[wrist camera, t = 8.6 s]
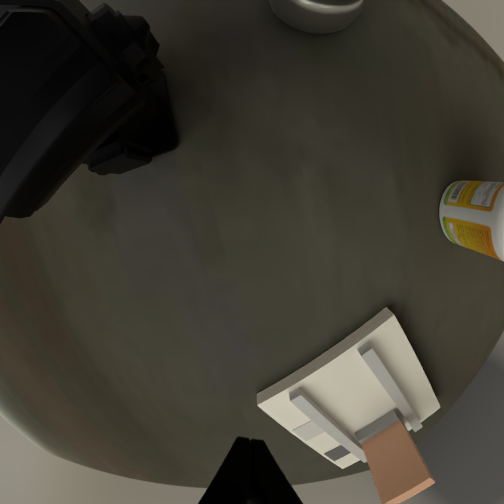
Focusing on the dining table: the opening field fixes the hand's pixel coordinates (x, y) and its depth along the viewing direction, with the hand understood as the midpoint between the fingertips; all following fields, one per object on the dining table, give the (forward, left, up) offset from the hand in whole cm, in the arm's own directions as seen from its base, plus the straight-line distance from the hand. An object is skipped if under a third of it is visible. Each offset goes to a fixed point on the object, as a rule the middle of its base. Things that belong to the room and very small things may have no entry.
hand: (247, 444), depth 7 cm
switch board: (+14, +8, -13) cm, 20 cm away
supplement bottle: (-3, +19, -13) cm, 23 cm away
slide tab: (+17, +9, -11) cm, 23 cm away
